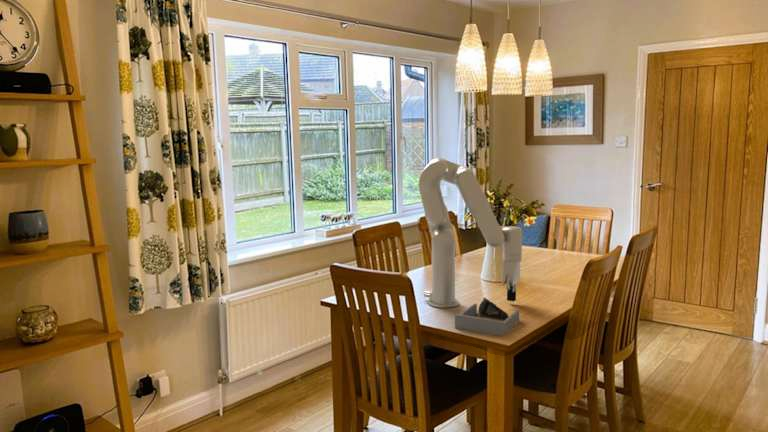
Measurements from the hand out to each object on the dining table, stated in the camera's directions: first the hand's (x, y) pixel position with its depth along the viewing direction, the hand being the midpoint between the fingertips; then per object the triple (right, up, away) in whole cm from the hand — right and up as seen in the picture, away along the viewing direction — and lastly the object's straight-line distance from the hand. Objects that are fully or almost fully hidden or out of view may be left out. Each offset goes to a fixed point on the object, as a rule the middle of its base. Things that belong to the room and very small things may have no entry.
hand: (511, 300), depth 237 cm
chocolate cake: (-9, -4, -14) cm, 17 cm away
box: (-14, -5, -23) cm, 27 cm away
